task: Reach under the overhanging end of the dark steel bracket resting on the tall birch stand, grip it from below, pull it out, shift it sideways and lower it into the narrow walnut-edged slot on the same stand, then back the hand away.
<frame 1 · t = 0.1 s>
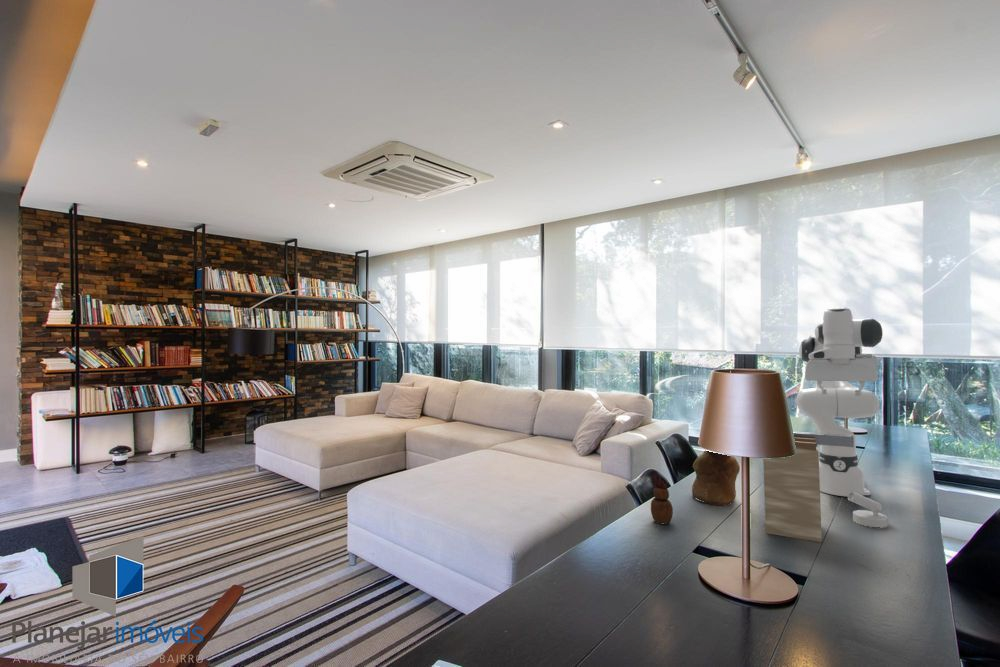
hand: (840, 395, 161), 39 cm above the table, tool pointing down, fingers open, 8 cm apart
wooden figurine: (661, 523, 153), on the table
ceramic vessel: (718, 502, 171), on the table
bracket: (812, 443, 146), point 26 cm above the table, touching stand
wall hook: (867, 523, 149), on the table
stand: (793, 529, 145), on the table
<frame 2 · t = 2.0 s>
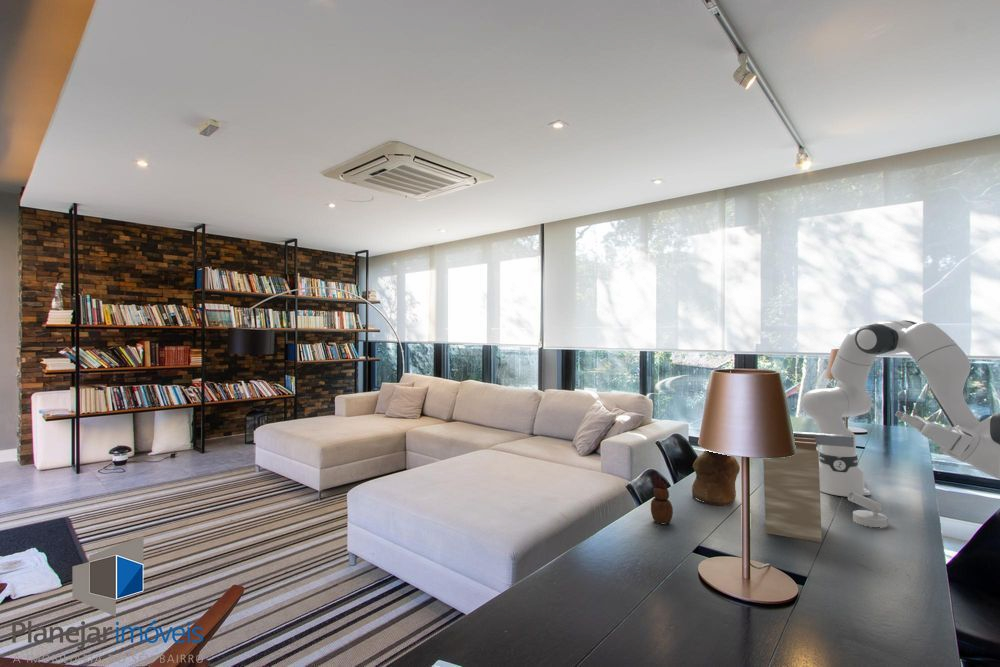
hand: (899, 415, 140), 35 cm above the table, tool pointing upward, fingers open, 8 cm apart
nothing on the table moved.
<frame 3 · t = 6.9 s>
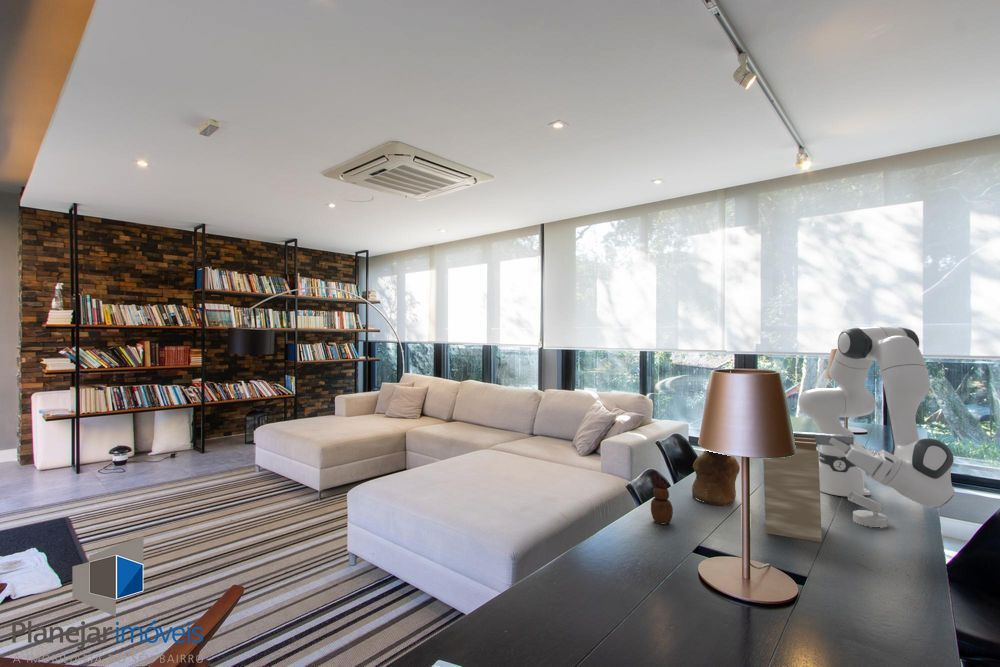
hand: (829, 438, 144), 28 cm above the table, tool pointing upward, fingers closed on bracket, 3 cm apart
bracket: (812, 443, 146), point 26 cm above the table, touching gripper, stand
everything else where it was.
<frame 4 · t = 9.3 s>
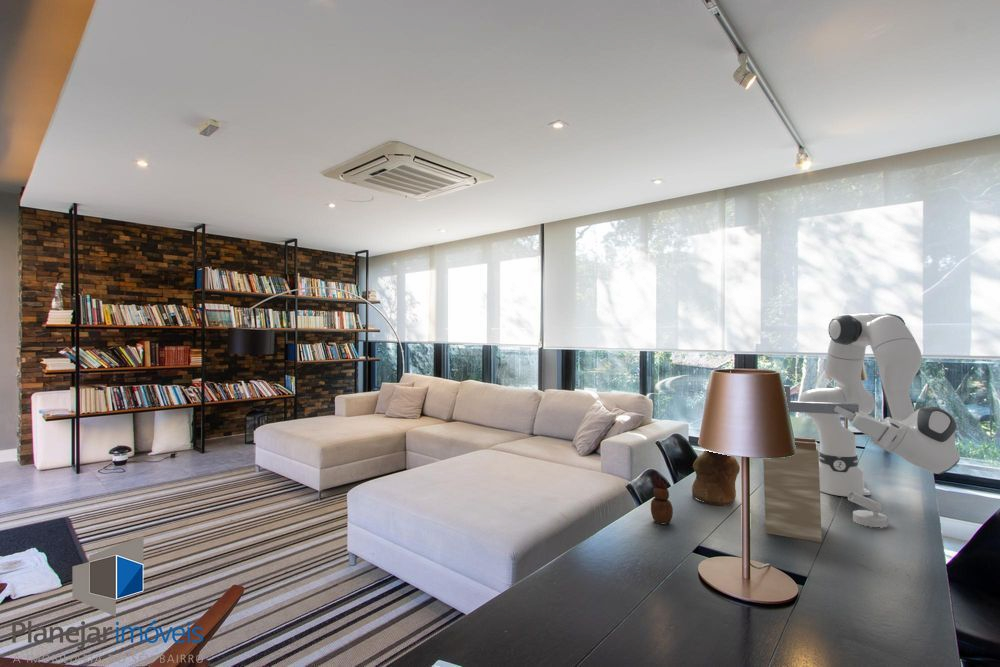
hand: (834, 406, 143), 38 cm above the table, tool pointing upward, fingers closed on bracket, 3 cm apart
bracket: (817, 412, 146), point 36 cm above the table, touching gripper
everything else where it was.
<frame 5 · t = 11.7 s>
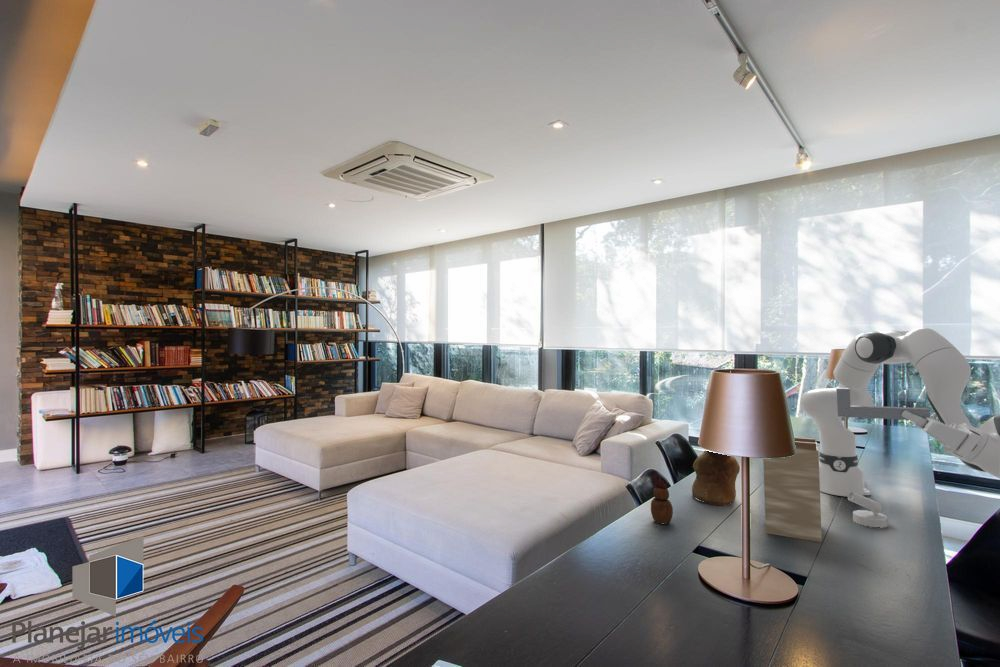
hand: (900, 411, 130), 38 cm above the table, tool pointing upward, fingers closed on bracket, 3 cm apart
bracket: (881, 417, 132), point 36 cm above the table, touching gripper
everything else where it was.
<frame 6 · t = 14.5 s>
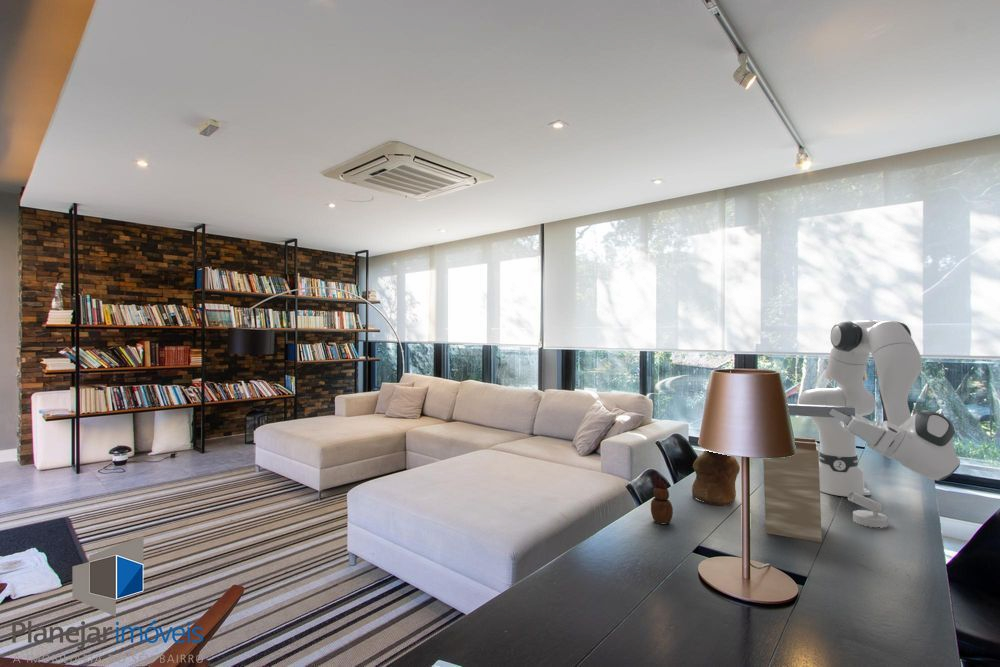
hand: (829, 409, 138), 37 cm above the table, tool pointing upward, fingers closed on bracket, 3 cm apart
bracket: (812, 415, 140), point 35 cm above the table, touching gripper
everything else where it was.
when the fingers open (29 cm above the table, at t = 16.7 s): bracket drops 1 cm, resting on stand.
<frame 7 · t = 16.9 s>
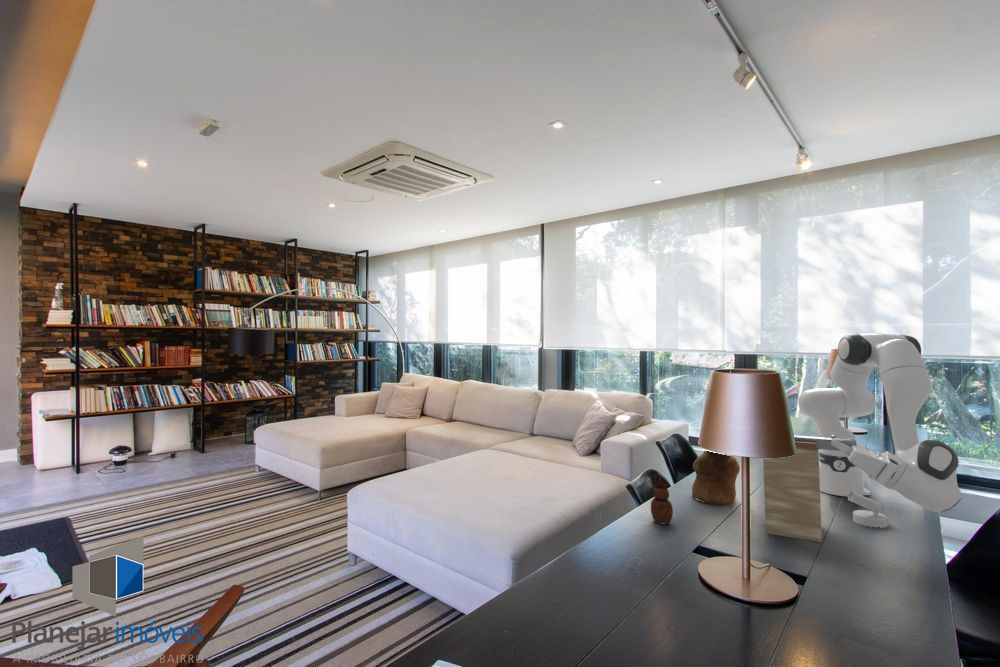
hand: (830, 438, 138), 29 cm above the table, tool pointing upward, fingers open, 5 cm apart
bracket: (814, 447, 140), point 26 cm above the table, touching stand
everything else where it was.
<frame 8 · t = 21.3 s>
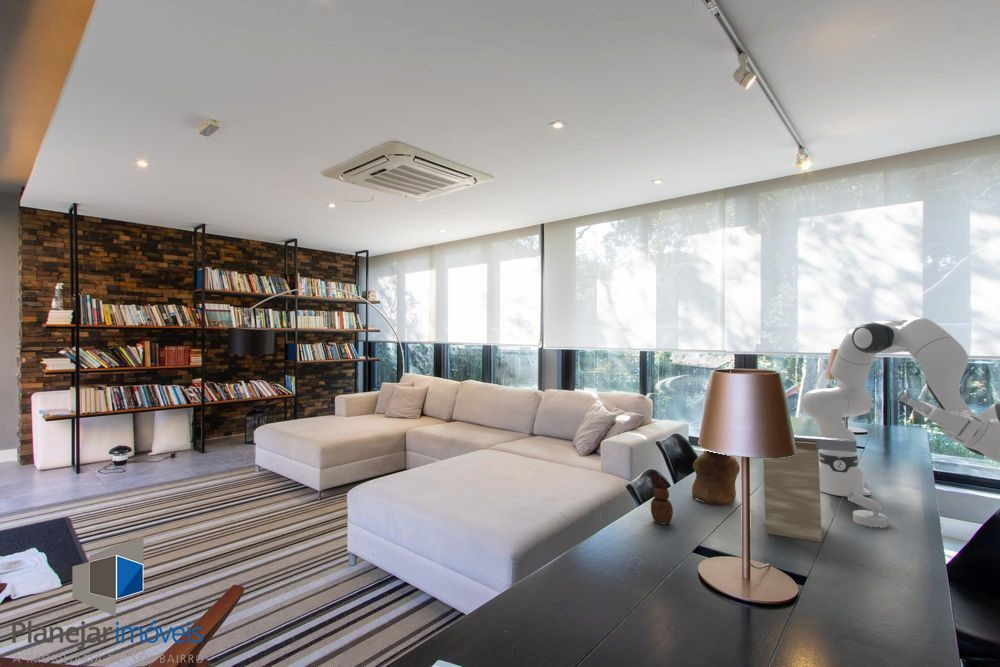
hand: (904, 399, 135), 40 cm above the table, tool pointing upward, fingers open, 8 cm apart
nothing on the table moved.
at the end: bracket inside the target area (0.1 cm from its centre), point 26.0 cm above the table; bracket tilted 0°; the gripper is holding nothing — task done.
